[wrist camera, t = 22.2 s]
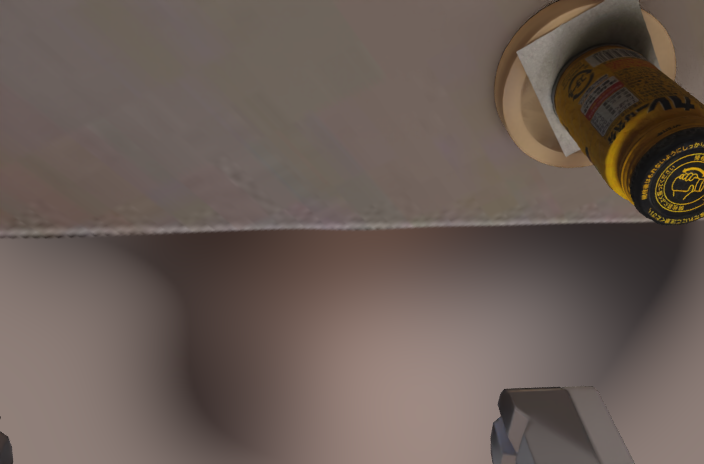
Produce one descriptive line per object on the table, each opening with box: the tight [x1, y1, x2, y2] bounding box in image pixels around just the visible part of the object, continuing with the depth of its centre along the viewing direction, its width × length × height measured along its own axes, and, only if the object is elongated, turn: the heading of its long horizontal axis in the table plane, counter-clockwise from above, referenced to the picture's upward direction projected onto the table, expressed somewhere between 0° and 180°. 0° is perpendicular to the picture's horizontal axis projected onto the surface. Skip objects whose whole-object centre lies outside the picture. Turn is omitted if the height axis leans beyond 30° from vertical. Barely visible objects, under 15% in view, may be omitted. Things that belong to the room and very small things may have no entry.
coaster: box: [494, 0, 676, 168], centre depth 42 cm, size 11×11×2 cm
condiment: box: [516, 0, 704, 225], centre depth 36 cm, size 7×8×12 cm
